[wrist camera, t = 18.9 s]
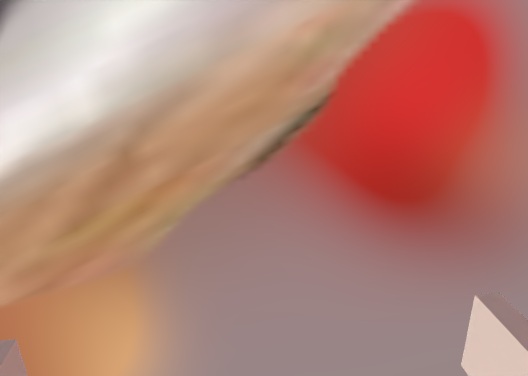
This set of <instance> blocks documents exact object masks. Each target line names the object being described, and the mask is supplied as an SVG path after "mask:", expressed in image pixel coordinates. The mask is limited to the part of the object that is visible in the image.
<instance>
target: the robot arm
mask: <svg viewBox="0 0 528 376" xmlns="http://www.w3.org/2000/svg"><path fill="white" fill-rule="evenodd" d="M461 366H462V367H463V368H464V370H465V371H466V373H467V374H468V375H469V376H528V320H527V319H526V318H525V317H524V316H523V315H522V314H520V312H519V311H518V310H517V309H515V308H514V307H513V306H512V305H511V304H510V303H509V302H508V301H507V300H506V299H505V298H504V297H503V296H502V295H501V294H500V293H489V294H479V295H475V298H474V303H473V308H472V313H471V318H470V323H469V328H468V333H467V339H466V343H465V348H464V354H463V358H462V363H461ZM0 376H28V375H27V371H26V368H25V365H24V362H23V359H22V356H21V353H20V349H19V346H18V343H17V340H16V339H14V340H3V341H0Z"/></svg>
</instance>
